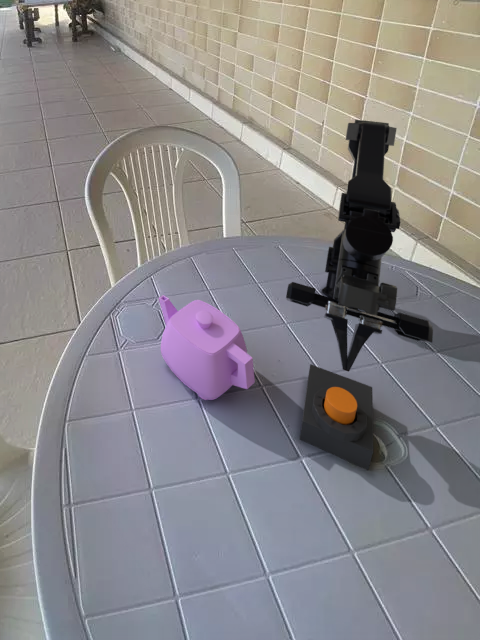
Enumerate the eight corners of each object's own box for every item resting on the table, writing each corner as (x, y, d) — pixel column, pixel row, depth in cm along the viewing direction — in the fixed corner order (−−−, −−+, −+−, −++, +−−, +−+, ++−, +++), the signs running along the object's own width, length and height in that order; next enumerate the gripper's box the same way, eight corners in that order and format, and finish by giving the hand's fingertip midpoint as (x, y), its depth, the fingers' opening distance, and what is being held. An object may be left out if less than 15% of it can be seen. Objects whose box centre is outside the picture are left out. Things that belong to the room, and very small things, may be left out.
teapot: (270, 387, 73) (277, 332, 68) (225, 435, 66) (229, 377, 62) (182, 319, 88) (183, 269, 84) (138, 352, 81) (136, 300, 77)
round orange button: (325, 394, 66) (327, 382, 65) (354, 405, 64) (357, 394, 63) (322, 416, 62) (325, 404, 62) (354, 429, 60) (357, 417, 60)
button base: (307, 381, 74) (311, 356, 71) (367, 405, 69) (374, 378, 67) (299, 442, 65) (303, 415, 62) (368, 474, 60) (375, 446, 58)
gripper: (294, 240, 65) (275, 346, 61) (446, 277, 56) (438, 406, 51) (295, 252, 74) (279, 345, 70) (427, 286, 65) (418, 396, 60)
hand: (345, 370), depth 63 cm, fingers closed
